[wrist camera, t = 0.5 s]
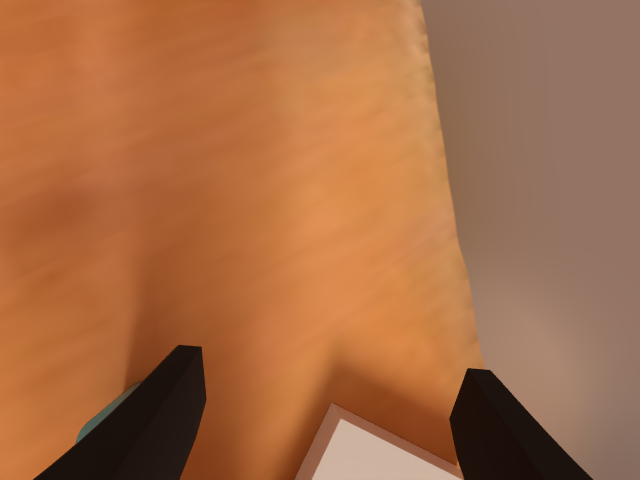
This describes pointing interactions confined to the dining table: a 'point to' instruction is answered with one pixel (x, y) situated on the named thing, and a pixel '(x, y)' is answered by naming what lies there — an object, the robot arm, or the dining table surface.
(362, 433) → the socket block
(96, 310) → the dining table surface
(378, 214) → the dining table surface
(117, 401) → the dowel
